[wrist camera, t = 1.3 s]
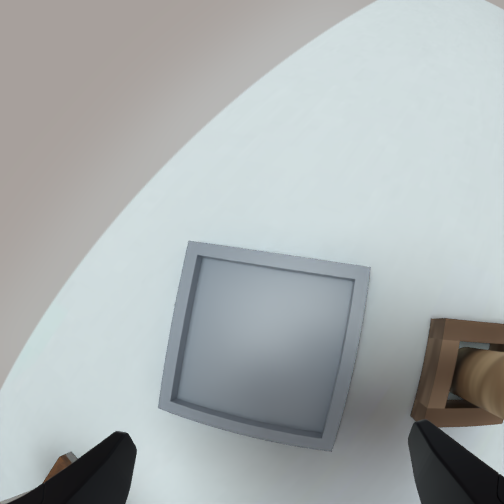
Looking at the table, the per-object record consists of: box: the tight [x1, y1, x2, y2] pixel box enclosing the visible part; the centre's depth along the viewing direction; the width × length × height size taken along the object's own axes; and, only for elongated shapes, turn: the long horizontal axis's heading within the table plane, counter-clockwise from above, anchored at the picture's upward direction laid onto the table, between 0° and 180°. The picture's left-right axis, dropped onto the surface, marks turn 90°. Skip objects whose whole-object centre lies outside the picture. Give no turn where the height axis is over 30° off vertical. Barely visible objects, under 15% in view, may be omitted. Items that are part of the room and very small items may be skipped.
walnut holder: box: [411, 318, 504, 427], centre depth 17 cm, size 8×8×3 cm
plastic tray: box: [158, 241, 371, 452], centre depth 22 cm, size 14×14×2 cm
